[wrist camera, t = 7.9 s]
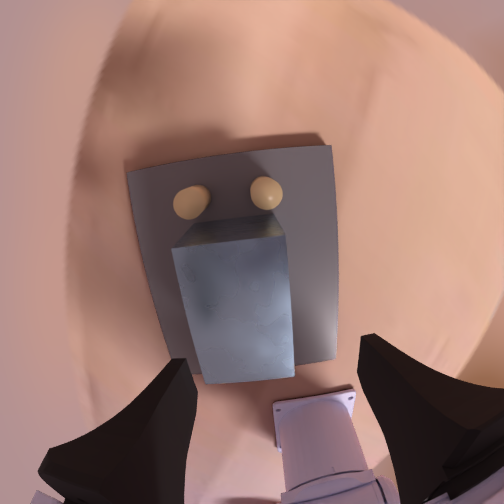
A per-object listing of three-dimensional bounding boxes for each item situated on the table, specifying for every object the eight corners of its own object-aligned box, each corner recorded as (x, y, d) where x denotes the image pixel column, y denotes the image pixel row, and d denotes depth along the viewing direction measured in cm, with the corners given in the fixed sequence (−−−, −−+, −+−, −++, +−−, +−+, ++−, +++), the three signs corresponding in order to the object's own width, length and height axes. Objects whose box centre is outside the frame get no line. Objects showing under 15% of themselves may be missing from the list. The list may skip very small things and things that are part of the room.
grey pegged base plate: (332, 351, 22) (345, 383, 18) (179, 367, 22) (169, 399, 18) (327, 146, 17) (347, 141, 13) (132, 171, 17) (105, 175, 13)
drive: (283, 325, 20) (294, 376, 14) (214, 332, 20) (205, 384, 14) (274, 213, 17) (285, 235, 12) (194, 223, 17) (171, 248, 12)
